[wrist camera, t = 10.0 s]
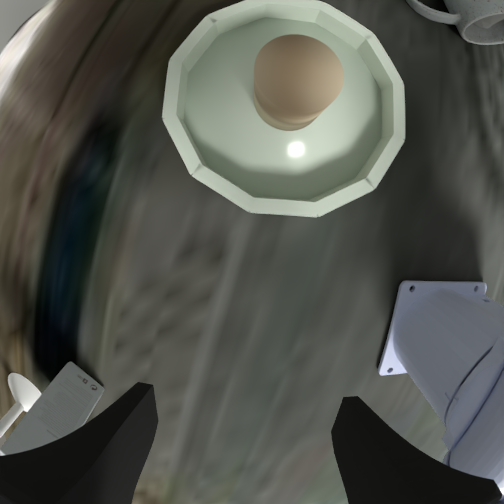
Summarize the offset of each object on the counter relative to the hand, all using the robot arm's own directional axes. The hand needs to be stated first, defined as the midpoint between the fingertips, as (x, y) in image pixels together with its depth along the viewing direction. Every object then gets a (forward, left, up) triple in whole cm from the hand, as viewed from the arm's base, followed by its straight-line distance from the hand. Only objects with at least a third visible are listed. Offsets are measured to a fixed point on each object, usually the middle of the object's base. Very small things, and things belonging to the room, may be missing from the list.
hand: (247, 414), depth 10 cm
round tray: (-1, -13, -10) cm, 17 cm away
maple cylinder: (-2, -13, -9) cm, 16 cm away
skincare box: (+15, +11, -10) cm, 21 cm away
